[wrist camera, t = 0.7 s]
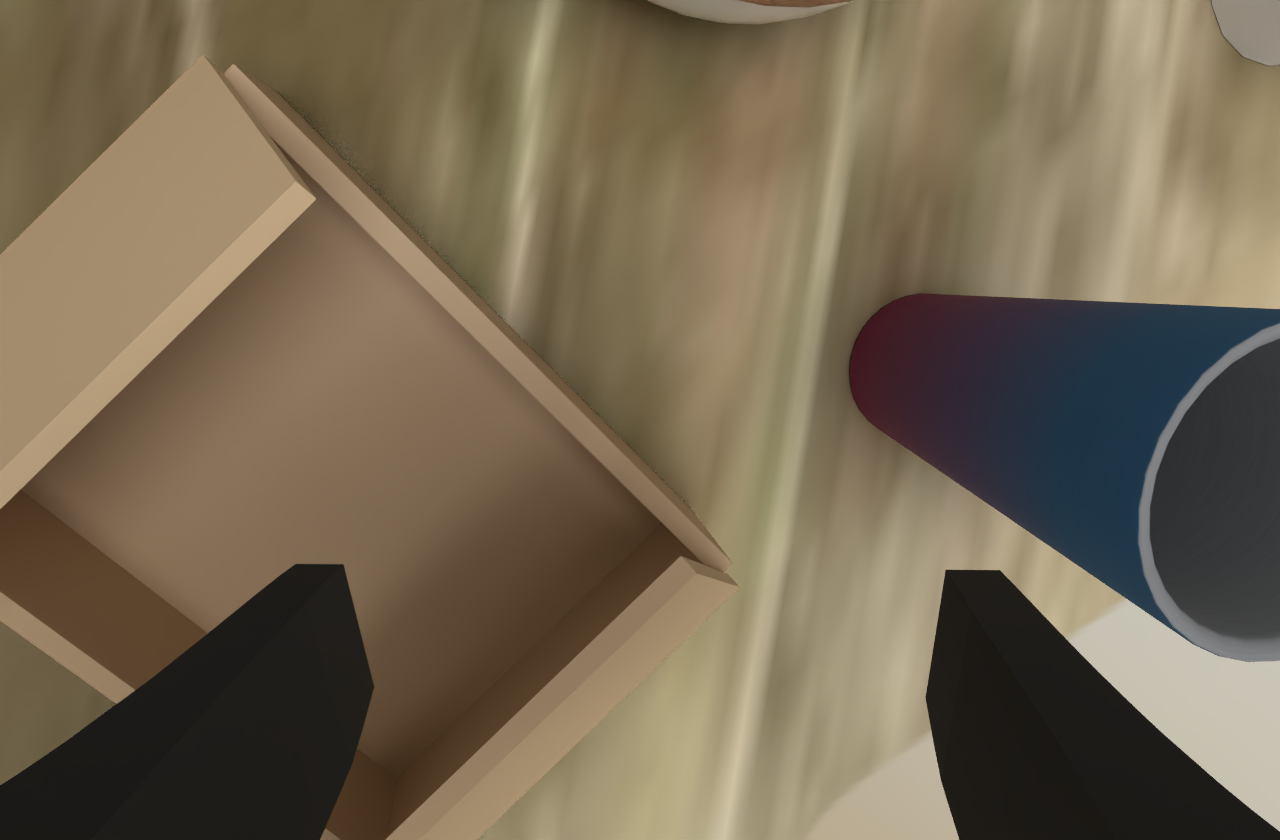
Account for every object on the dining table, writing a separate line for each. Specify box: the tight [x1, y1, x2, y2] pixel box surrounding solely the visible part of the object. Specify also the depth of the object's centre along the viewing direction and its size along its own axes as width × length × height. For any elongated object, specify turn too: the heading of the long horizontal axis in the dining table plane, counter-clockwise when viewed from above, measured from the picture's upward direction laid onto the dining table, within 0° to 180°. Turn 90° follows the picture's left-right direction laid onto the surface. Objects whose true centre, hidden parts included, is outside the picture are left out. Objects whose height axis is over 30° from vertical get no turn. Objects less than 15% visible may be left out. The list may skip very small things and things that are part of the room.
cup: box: [849, 294, 1280, 662], centre depth 24 cm, size 7×7×15 cm
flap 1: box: [0, 55, 316, 509], centre depth 18 cm, size 13×7×1 cm
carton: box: [0, 64, 732, 840], centre depth 26 cm, size 14×18×5 cm
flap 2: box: [385, 556, 740, 840], centre depth 22 cm, size 13×7×1 cm
